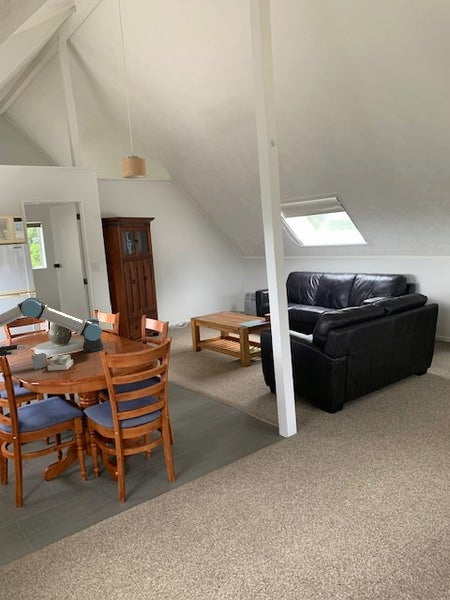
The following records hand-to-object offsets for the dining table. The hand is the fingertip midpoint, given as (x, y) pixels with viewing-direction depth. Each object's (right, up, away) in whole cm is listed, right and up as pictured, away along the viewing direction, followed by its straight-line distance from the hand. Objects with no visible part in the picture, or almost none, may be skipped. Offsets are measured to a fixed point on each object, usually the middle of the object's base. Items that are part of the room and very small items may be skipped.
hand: (22, 349), depth 291 cm
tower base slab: (+25, -12, 0) cm, 27 cm away
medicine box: (+11, -12, +2) cm, 16 cm away
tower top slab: (+25, -8, 0) cm, 26 cm away
